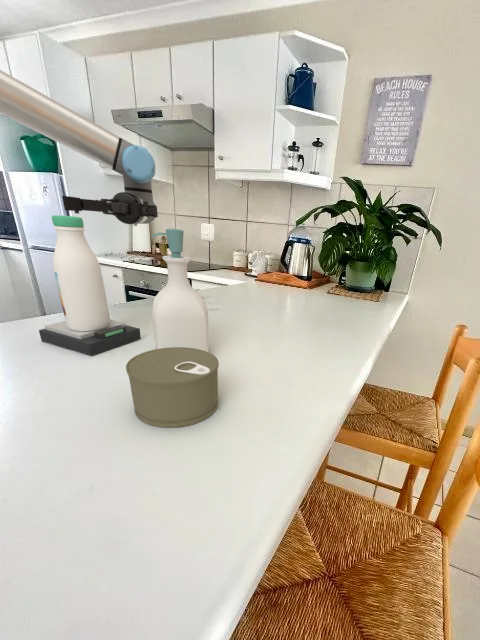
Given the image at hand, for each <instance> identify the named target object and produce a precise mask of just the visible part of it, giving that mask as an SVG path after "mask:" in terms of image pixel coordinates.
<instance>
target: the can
mask: <svg viewBox="0 0 480 640" xmlns="http://www.w3.org/2000/svg"><path fill="white" fill-rule="evenodd" d="M219 364H220V363H219V359H218V358H217V356H216V355H215V354H213V353H211V352H210V351H209V352H207V351H204V350H200V349H195V348H186V347H170V348H161V349H156V348H155V349H151V350H147V351H143V352H141V353H139V354H137V355H135V356H133V357H131V358H130V359H129V360H128V362H127V363H126V365H125V371H126V374H127V376H128V380H129V386H130V391H131V397H132V402H133V408H134V414H135V416H136V418H137V419H138V420H139V421H141V422H143V423H144V424H147V425H149V426H153V427H158V428H169V429H171V428H183V427H189V426H192V425H195V424H199V423H201V422H202V421H205V420H207V419H209V418H210V417H211V416H212V415H214V414H215V412H216V411H217V410H218V408H219V407H218V406H219V398H218V397H219V382H218V381H219V379H218V378H219V377H218V376H219V375H218V374H219V373H218V372H219V368H220V367H219V366H220V365H219Z"/></svg>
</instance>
